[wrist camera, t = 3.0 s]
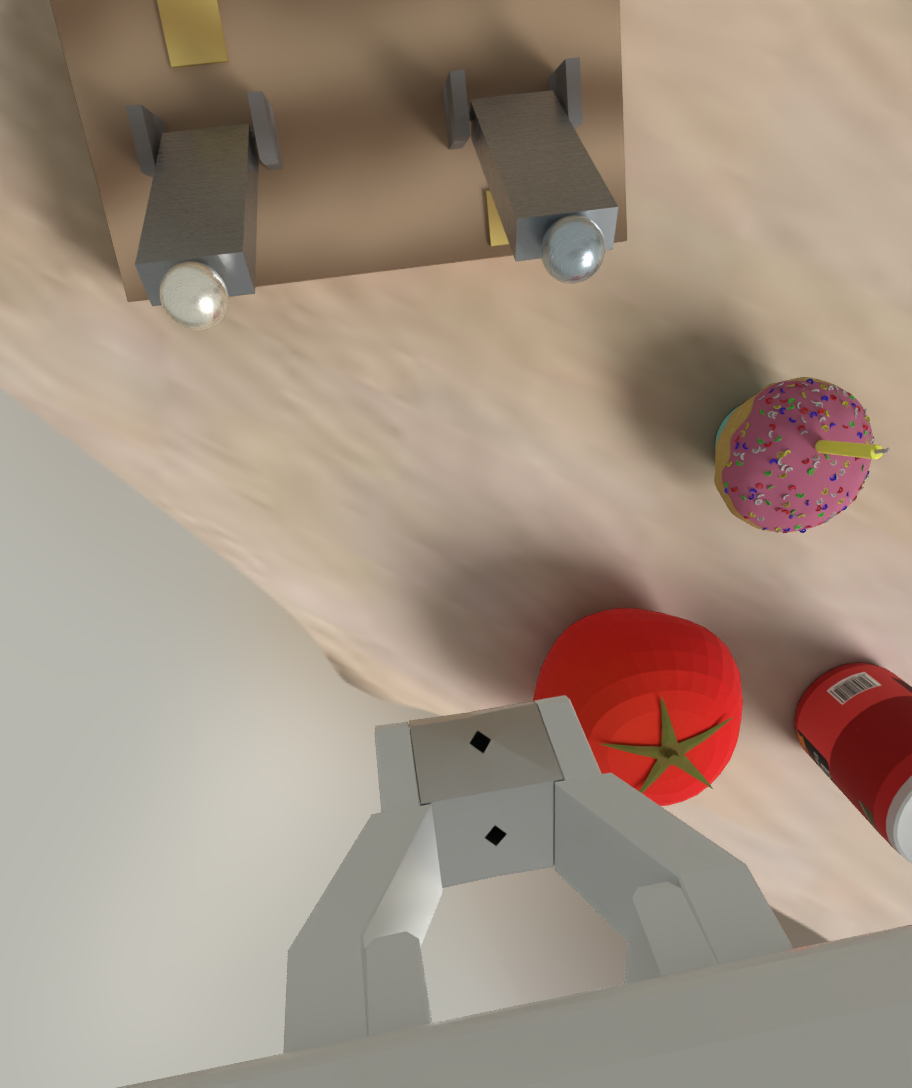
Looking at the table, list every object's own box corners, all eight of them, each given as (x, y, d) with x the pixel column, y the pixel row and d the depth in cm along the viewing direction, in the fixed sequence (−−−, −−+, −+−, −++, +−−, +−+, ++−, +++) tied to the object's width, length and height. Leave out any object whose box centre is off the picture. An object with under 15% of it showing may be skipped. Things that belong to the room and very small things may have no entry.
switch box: (603, 244, 40) (649, 237, 33) (151, 299, 38) (104, 304, 32) (592, -23, 36) (642, -94, 29) (85, 28, 34) (14, -33, 27)
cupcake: (687, 375, 43) (800, 410, 32) (828, 360, 43) (987, 390, 32) (684, 516, 46) (786, 594, 34) (816, 500, 46) (958, 572, 35)
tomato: (676, 740, 51) (748, 850, 42) (505, 728, 50) (538, 840, 40) (718, 592, 48) (808, 674, 38) (536, 573, 46) (580, 654, 36)
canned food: (770, 740, 52) (868, 853, 42) (828, 644, 50) (946, 739, 40) (857, 767, 54) (971, 883, 44) (917, 676, 52) (1052, 775, 41)
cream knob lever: (260, 169, 33) (256, 336, 25) (177, 178, 32) (149, 350, 25) (247, 115, 31) (238, 278, 23) (159, 125, 31) (123, 292, 23)
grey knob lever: (550, 136, 33) (628, 289, 26) (471, 145, 33) (527, 302, 26) (553, 82, 32) (637, 229, 24) (469, 91, 31) (529, 243, 24)
